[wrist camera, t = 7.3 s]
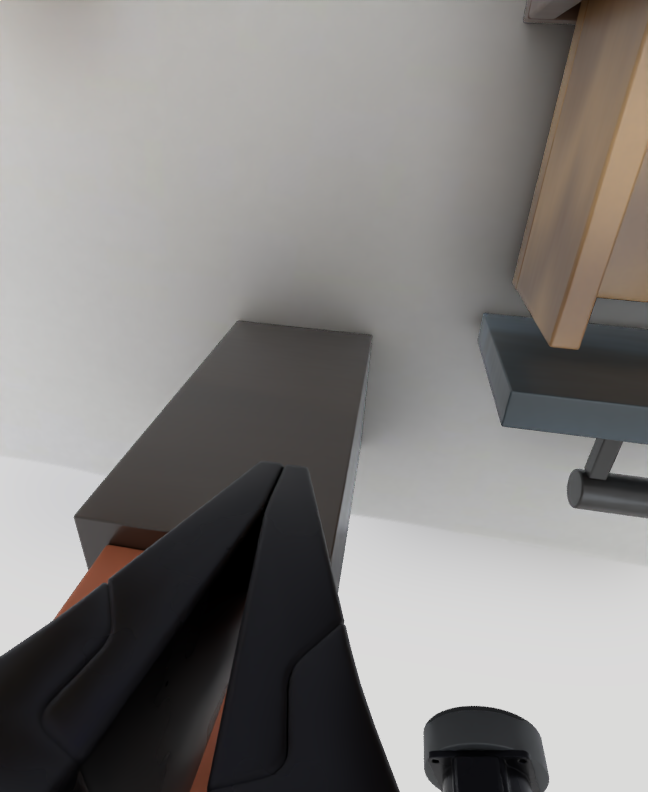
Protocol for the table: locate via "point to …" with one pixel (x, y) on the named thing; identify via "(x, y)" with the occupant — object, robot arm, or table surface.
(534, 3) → the cabinet
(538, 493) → the table surface
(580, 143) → the drawer
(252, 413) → the pedestal
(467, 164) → the table surface
